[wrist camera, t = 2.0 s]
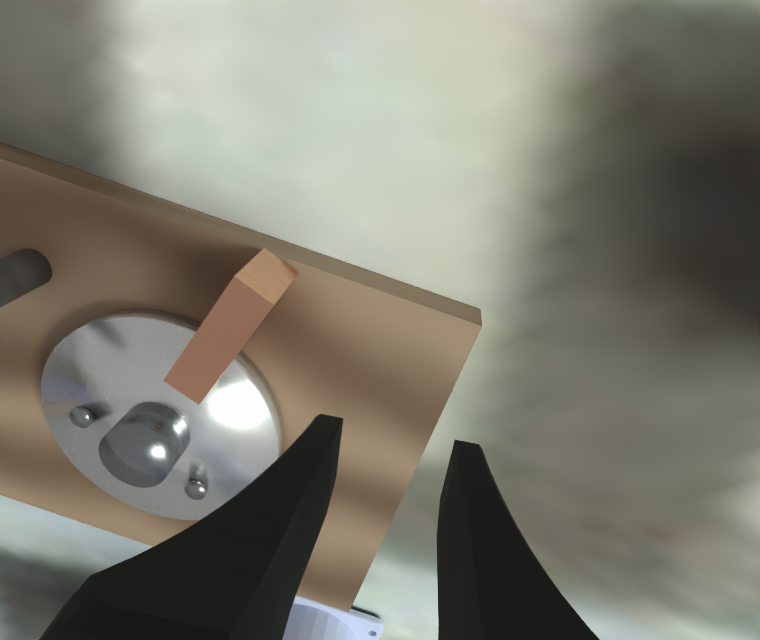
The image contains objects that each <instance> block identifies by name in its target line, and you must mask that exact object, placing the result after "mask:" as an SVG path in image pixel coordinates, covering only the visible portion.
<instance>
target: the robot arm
mask: <svg viewBox="0 0 760 640" xmlns="http://www.w3.org/2000/svg"><path fill="white" fill-rule="evenodd" d="M342 426H343V418H340V417H335V416H330V415H325V414H319V415H317V416H316V417H315V418H314V419H313V421H312V422H311V423H310V425H309V426H308V427H307V428H306V429H305V430H304V432H303V433H302V434H301V435H300V436H299V437H298V438H297V439H296V440H295V442H294V443H293V444H292V445H291V446H290V447H289V448H288V449H287V450H286V451H285V452H284V453H283V454H282V455H281V456H280V457H279V458H278V459H277V460H276V461H275V462H274V463H273V464H272V465H270V466H269V467H268V468H267V469H266V470H265V471H264V472H263V473H261V474H260V475H259V476H258V477H257V478H256V479H255V480H253V481H252V482H251V483H250V484H249V485H248V486H246V487H245V488H244V489H243V490H241V491H240V492H239V493H238V494H236V495H235V496H234V497H232V498H231V499H230V500H228V501H227V502H226V503H224V504H223V505H221V506H220V507H219V508H217V509H216V510H214V511H213V512H211V513H210V514H208V515H207V516H205V517H204V518H202V519H201V520H199V521H198V522H196V523H194V524H193V525H191V526H190V527H188V528H186V529H185V530H183V531H181V532H180V533H178V534H176V535H174V536H172V537H170V538H169V539H167V540H165V541H163V542H161V543H159V544H158V545H156V546H154V547H152V548H150V549H148V550H146V551H144V552H142V553H140V554H138V555H136V556H134V557H132V558H130V559H127V560H125V561H123V562H121V563H118V564H116V565H114V566H112V567H109V568H107V569H105V570H103V571H100V572H98V573H95V574H93V575H91V576H90V577H89V578H88V579H87V580H86V581H85V582H84V584H83V585H82V586H81V587H80V588H79V589H78V590H77V591H76V592H75V593H74V594H73V596H72V597H71V598H70V599H69V600H68V601H67V603H66V604H65V605H64V606H63V608H62V609H61V610H60V612H59V613H58V614H57V616H56V617H55V619H54V620H53V621H52V623H51V624H50V625H49V627H48V628H47V629H46V631H45V632H44V634H43V635H42V636H41V638H40V639H39V640H378V639H379V637H380V635H381V633H382V631H383V627H384V623H383V621H382V620H381V619H379V618H377V617H374V616H371V615H368V614H365V613H362V612H359V611H356V610H353V609H350V611H349V612H346V611H343V610H340V609H337V608H334V607H331V606H328V605H325V604H322V603H319V602H316V601H314V600H311V599H308V598H305V597H302V596H299V595H296V593H297V591H298V588H299V585H300V583H301V580H302V578H303V575H304V572H305V570H306V567H307V564H308V562H309V559H310V557H311V554H312V551H313V549H314V546H315V544H316V541H317V538H318V536H319V533H320V530H321V528H322V525H323V523H324V520H325V517H326V515H327V511H328V507H329V504H330V500H331V496H332V492H333V488H334V484H335V480H336V475H337V467H338V459H339V451H340V442H341V434H342ZM437 573H438V615H439V635H438V640H599V638H598V637H597V636H596V635H595V634H594V633H593V632H592V631H591V630H590V628H589V627H588V626H587V625H586V624H585V622H584V621H583V620H582V619H581V618H580V616H579V615H578V614H577V613H576V611H575V610H574V609H573V608H572V607H571V605H570V604H569V603H568V602H567V600H566V599H565V598H564V597H563V595H562V594H561V593H560V591H559V590H558V589H557V587H556V586H555V585H554V583H553V582H552V580H551V579H550V578H549V576H548V575H547V573H546V572H545V570H544V569H543V567H542V566H541V564H540V563H539V561H538V560H537V558H536V557H535V555H534V554H533V552H532V550H531V549H530V547H529V546H528V544H527V542H526V541H525V539H524V537H523V535H522V534H521V532H520V530H519V528H518V527H517V525H516V523H515V521H514V519H513V517H512V516H511V514H510V512H509V510H508V508H507V506H506V504H505V502H504V500H503V498H502V496H501V494H500V491H499V489H498V487H497V485H496V483H495V480H494V478H493V476H492V473H491V471H490V469H489V466H488V464H487V461H486V458H485V456H484V453H483V450H482V448H481V447H480V445H479V444H474V443H469V442H464V441H459V440H455V442H454V446H453V450H452V454H451V458H450V462H449V466H448V470H447V474H446V478H445V482H444V486H443V490H442V494H441V498H440V506H439V517H438V529H437Z"/></svg>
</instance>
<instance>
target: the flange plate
mask: <svg viewBox="0 0 760 640" xmlns="http://www.w3.org/2000/svg"><path fill="white" fill-rule="evenodd" d="M298 274H299V273H298V272H297V271H296V270H294V269H293V268H292V267H290V266H289V265H288V264H286V263H285V262H284V261H282V260H281V259H280V258H278V257H277V256H276V255H274V254H273V253H272V252H270V251H269V250H268V249H266V248H264V249H262V250H261V251H260V252H259V253H258V254H257V255H256V256H255V257H254V258H253V259H252V260H251V261H250V262H249V263H248V264H246V265H245V266H244V267H243V268H242V269H241V270H240V271H239V272H238V273H237V274H236V275H235V276H234V277H233V279H232V280H231V282H230V283H229V284H228V286H227V287H226V289H225V290H224V292H223V293H222V295H221V296H220V298H219V299H218V301H217V302H216V304H215V305H214V306H213V308H212V309H211V311H210V312H209V314H208V315H207V317H206V318H205V320H204V321H203V323H202V324H200V323H198V322H196V321H194V320H191V319H189V318H186V317H183V316H180V315H177V314H173V313H169V312H165V311H160V310H152V309H125V310H118V311H113V312H109V313H106V314H103V315H100V316H98V317H96V318H94V319H92V320H90V321H88V322H87V323H85V324H84V325H82V326H81V327H79V328H78V329H76V330H75V331H74V332H72V333H71V334H69V335H68V336H67V337H65V338H64V339H63V340H62V341H61V342H60V343H59V344H58V345H57V346H56V347H55V348H54V350H53V351H52V353H51V354H50V356H49V357H48V359H47V362H46V364H45V367H44V369H43V374H42V379H41V400H42V407H43V411H44V414H45V418H46V421H47V423H48V426H49V428H50V430H51V433H52V434H53V436H54V438H55V440H56V442H57V443H58V445H59V446H60V448H61V449H62V451H63V452H64V453H65V455H66V456H67V457H68V458H69V460H70V461H71V462H72V463H73V464H74V465H75V467H76V468H77V469H78V470H79V471H81V472H82V473H83V474H84V475H85V476H86V477H87V478H88V479H89V480H91V481H92V482H93V483H94V484H95V485H97V486H98V487H99V488H101V489H102V490H104V491H105V492H107V493H108V494H110V495H111V496H113V497H115V498H117V499H118V500H120V501H122V502H124V503H126V504H128V505H130V506H133V507H135V508H137V509H140V510H143V511H145V512H148V513H151V514H155V515H159V516H162V517H167V518H173V519H180V520H201V519H202V518H204V517H205V516H207V515H208V514H210V513H211V512H213V511H214V510H216V509H217V508H219V507H220V506H221V505H223V504H224V503H226V502H227V501H228V500H230V499H231V498H232V497H234V496H235V495H236V494H238V493H239V492H240V491H241V490H243V489H244V488H245V487H246V486H248V485H249V484H250V483H251V482H252V481H253V480H255V479H256V478H257V477H258V476H259V475H260V474H261V473H263V472H264V471H265V470H266V469H267V468H268V467H269V466H270V465H272V464H273V463H274V462H275V461H276V460H277V459H278V458H279V457H280V456H281V454H282V451H283V445H284V424H283V418H282V413H281V410H280V407H279V404H278V401H277V398H276V396H275V394H274V392H273V390H272V388H271V386H270V385H269V383H268V382H267V380H266V378H265V377H264V375H263V374H262V372H261V371H260V370H259V369H258V368H257V366H256V365H255V364H254V363H253V362H252V360H251V359H250V358H249V357H247V356H246V355H245V354H244V353H243V352H242V351H241V349H242V348H243V347H244V345H245V344H246V343H247V341H248V340H249V339H250V337H251V336H252V335H253V333H254V332H255V331H256V330H257V328H258V327H259V326H260V324H261V323H262V322H263V320H264V319H265V318H266V316H267V315H268V314H269V312H270V311H271V310H272V308H273V307H274V306H275V304H276V303H277V302H278V300H279V299H280V298H281V296H282V295H283V294H284V292H285V291H286V290H287V288H288V287H289V286H290V284H291V283H292V282H293V280H294V279H295V278H296V276H297V275H298Z"/></svg>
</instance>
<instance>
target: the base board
mask: <svg viewBox="0 0 760 640" xmlns="http://www.w3.org/2000/svg"><path fill="white" fill-rule="evenodd" d="M264 248H266V249H268V250H269V251H270V252H272V253H273V254H274V255H276V256H277V257H278V258H280V259H281V260H282V261H284V262H285V263H286V264H288V265H289V266H290V267H292V268H293V269H294V270H296V271H297V272H298V273H299V274H298V275H297V276H296V278H295V279H294V280H293V282H292V283H291V284H290V286H289V287H288V288H287V290H286V291H285V292H284V294H283V295H282V296H281V298H280V299H279V300H278V302H277V303H276V304H275V306H274V307H273V308H272V310H271V311H270V312H269V314H268V315H267V316H266V318H265V319H264V320H263V322H262V323H261V324H260V326H259V327H258V328H257V330H256V331H255V332H254V333H253V335H252V336H251V337H250V339H249V340H248V341H247V343H246V344H245V345H244V347H243V348H242V349H241V351H242V352H243V353H244V354H245V355H246V356H247V357H249V358H250V359H251V360H252V362H253V363H254V364H255V365H256V366H257V368H258V369H259V370H260V371H261V372H262V374H263V375H264V377H265V378H266V380H267V382H268V383H269V385H270V386H271V388H272V390H273V392H274V394H275V396H276V398H277V401H278V404H279V407H280V410H281V413H282V418H283V424H284V445H283V451H282V454H283V453H284V452H285V451H286V450H287V449H288V448H289V447H290V446H291V445H292V444H293V443H294V442H295V440H296V439H297V438H298V437H299V436H300V435H301V434H302V433H303V432H304V430H305V429H306V428H307V427H308V426H309V425H310V423H311V422H312V421H313V419H314V418H315V417H316V416H317V415H319V414H325V415H330V416H335V417H340V418H343V426H342V434H341V442H340V451H339V459H338V467H337V475H336V480H335V484H334V488H333V492H332V496H331V500H330V504H329V507H328V511H327V515H326V517H325V520H324V523H323V525H322V528H321V530H320V533H319V536H318V538H317V541H316V544H315V546H314V549H313V551H312V554H311V557H310V559H309V562H308V564H307V567H306V570H305V572H304V575H303V578H302V580H301V583H300V585H299V588H298V591H297V593H296V595H299V596H302V597H305V598H308V599H311V600H314V601H316V602H319V603H322V604H325V605H328V606H331V607H334V608H337V609H340V610H343V611H346V612H349V611H350V609H351V606H352V604H353V602H354V600H355V598H356V596H357V594H358V591H359V589H360V587H361V585H362V583H363V581H364V579H365V576H366V574H367V572H368V570H369V568H370V566H371V563H372V561H373V559H374V557H375V555H376V553H377V551H378V548H379V546H380V544H381V542H382V540H383V538H384V536H385V533H386V531H387V529H388V527H389V525H390V523H391V521H392V518H393V516H394V514H395V512H396V510H397V508H398V505H399V503H400V501H401V499H402V497H403V495H404V493H405V490H406V488H407V486H408V484H409V482H410V480H411V478H412V475H413V473H414V471H415V469H416V467H417V465H418V463H419V460H420V458H421V456H422V454H423V452H424V450H425V448H426V445H427V443H428V441H429V439H430V437H431V435H432V432H433V430H434V428H435V426H436V424H437V422H438V420H439V417H440V415H441V413H442V411H443V409H444V407H445V405H446V402H447V400H448V398H449V396H450V394H451V392H452V390H453V387H454V385H455V383H456V381H457V379H458V377H459V374H460V372H461V370H462V368H463V366H464V364H465V362H466V359H467V357H468V355H469V353H470V351H471V349H472V347H473V344H474V342H475V340H476V338H477V336H478V334H479V332H480V329H481V327H482V320H481V310H480V309H477V308H474V307H471V306H468V305H466V304H463V303H460V302H457V301H454V300H451V299H448V298H446V297H443V296H440V295H437V294H434V293H431V292H428V291H425V290H423V289H420V288H417V287H414V286H411V285H408V284H405V283H402V282H400V281H397V280H394V279H391V278H388V277H385V276H382V275H379V274H377V273H374V272H371V271H368V270H365V269H362V268H359V267H356V266H354V265H351V264H348V263H345V262H342V261H339V260H336V259H334V258H331V257H328V256H325V255H322V254H319V253H316V252H313V251H311V250H308V249H305V248H302V247H299V246H296V245H293V244H290V243H288V242H285V241H282V240H279V239H276V238H273V237H270V236H267V235H265V234H262V233H259V232H256V231H253V230H250V229H247V228H245V227H242V226H239V225H236V224H233V223H230V222H227V221H224V220H222V219H219V218H216V217H213V216H210V215H207V214H204V213H201V212H199V211H196V210H193V209H190V208H187V207H184V206H181V205H178V204H176V203H173V202H170V201H167V200H164V199H161V198H158V197H155V196H153V195H150V194H147V193H144V192H141V191H138V190H135V189H133V188H130V187H127V186H124V185H121V184H118V183H115V182H112V181H110V180H107V179H104V178H101V177H98V176H95V175H92V174H89V173H87V172H84V171H81V170H78V169H75V168H72V167H69V166H66V165H64V164H61V163H58V162H55V161H52V160H49V159H46V158H43V157H41V156H38V155H35V154H32V153H29V152H26V151H23V150H21V149H18V148H15V147H12V146H9V145H6V144H3V143H0V495H2V496H5V497H8V498H11V499H14V500H17V501H20V502H23V503H26V504H29V505H32V506H35V507H38V508H41V509H44V510H47V511H50V512H53V513H56V514H59V515H62V516H65V517H68V518H71V519H74V520H77V521H79V522H82V523H85V524H88V525H91V526H94V527H97V528H100V529H103V530H106V531H109V532H112V533H115V534H118V535H121V536H124V537H127V538H130V539H133V540H136V541H139V542H142V543H145V544H148V545H151V546H156V545H158V544H159V543H161V542H163V541H165V540H167V539H169V538H170V537H172V536H174V535H176V534H178V533H180V532H181V531H183V530H185V529H186V528H188V527H190V526H191V525H193V524H194V523H196V522H198V521H199V520H180V519H173V518H167V517H162V516H159V515H155V514H151V513H148V512H145V511H143V510H140V509H137V508H135V507H133V506H130V505H128V504H126V503H124V502H122V501H120V500H118V499H117V498H115V497H113V496H111V495H110V494H108V493H107V492H105V491H104V490H102V489H101V488H99V487H98V486H97V485H95V484H94V483H93V482H92V481H91V480H89V479H88V478H87V477H86V476H85V475H84V474H83V473H82V472H81V471H79V470H78V469H77V468H76V467H75V465H74V464H73V463H72V462H71V461H70V460H69V458H68V457H67V456H66V455H65V453H64V452H63V451H62V449H61V448H60V446H59V445H58V443H57V442H56V440H55V438H54V436H53V434H52V433H51V430H50V428H49V426H48V423H47V421H46V418H45V414H44V411H43V407H42V400H41V379H42V374H43V369H44V367H45V364H46V362H47V359H48V357H49V356H50V354H51V353H52V351H53V350H54V348H55V347H56V346H57V345H58V344H59V343H60V342H61V341H62V340H63V339H64V338H65V337H67V336H68V335H69V334H71V333H72V332H74V331H75V330H76V329H78V328H79V327H81V326H82V325H84V324H85V323H87V322H88V321H90V320H92V319H94V318H96V317H98V316H100V315H103V314H106V313H109V312H113V311H118V310H125V309H152V310H160V311H165V312H169V313H173V314H177V315H180V316H183V317H186V318H189V319H191V320H194V321H196V322H198V323H200V324H202V323H203V321H204V320H205V318H206V317H207V315H208V314H209V312H210V311H211V309H212V308H213V306H214V305H215V304H216V302H217V301H218V299H219V298H220V296H221V295H222V293H223V292H224V290H225V289H226V287H227V286H228V284H229V283H230V282H231V280H232V279H233V277H234V276H235V275H236V274H237V273H238V272H239V271H240V270H241V269H242V268H243V267H244V266H245V265H246V264H248V263H249V262H250V261H251V260H252V259H253V258H254V257H255V256H256V255H257V254H258V253H259V252H260V251H261V250H262V249H264ZM282 454H281V455H282Z"/></svg>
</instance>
